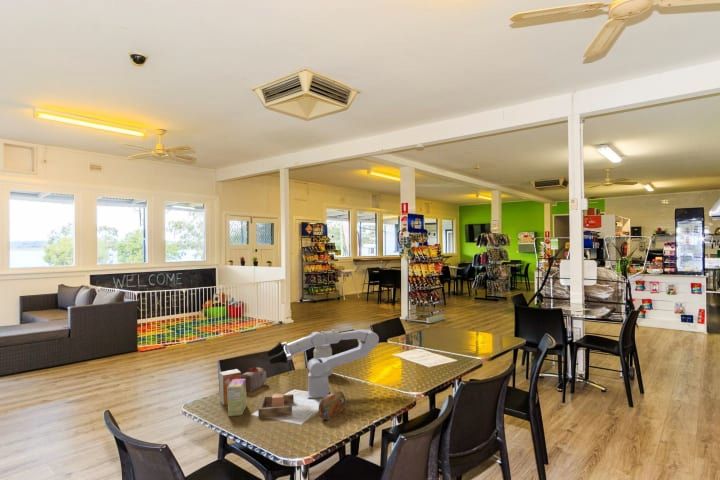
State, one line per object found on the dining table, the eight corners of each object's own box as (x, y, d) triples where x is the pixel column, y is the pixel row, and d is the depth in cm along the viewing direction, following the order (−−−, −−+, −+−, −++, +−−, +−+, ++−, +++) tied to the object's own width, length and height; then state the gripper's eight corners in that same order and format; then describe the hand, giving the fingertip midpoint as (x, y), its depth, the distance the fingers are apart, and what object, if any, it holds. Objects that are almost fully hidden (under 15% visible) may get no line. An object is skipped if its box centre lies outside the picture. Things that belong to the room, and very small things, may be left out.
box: (233, 406, 177) (232, 379, 177) (246, 405, 178) (246, 378, 178) (227, 416, 167) (226, 387, 167) (241, 415, 167) (241, 386, 168)
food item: (253, 382, 208) (253, 363, 208) (267, 384, 206) (267, 364, 206) (238, 392, 195) (237, 371, 195) (252, 393, 193) (252, 372, 193)
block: (284, 407, 175) (283, 393, 175) (283, 411, 170) (283, 397, 170) (273, 408, 174) (273, 393, 174) (272, 412, 170) (271, 397, 170)
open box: (293, 402, 180) (293, 394, 180) (292, 415, 166) (291, 406, 166) (262, 404, 179) (262, 396, 179) (258, 418, 164) (258, 409, 164)
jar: (325, 370, 224) (324, 337, 224) (336, 374, 217) (335, 340, 217) (310, 375, 218) (309, 340, 218) (321, 379, 210) (320, 343, 211)
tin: (324, 423, 158) (323, 401, 158) (317, 421, 159) (316, 399, 159) (346, 409, 170) (345, 389, 171) (339, 408, 172) (339, 387, 172)
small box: (223, 405, 179) (222, 375, 179) (219, 401, 184) (218, 371, 184) (242, 401, 183) (241, 371, 183) (237, 397, 189) (236, 368, 189)
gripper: (292, 332, 192) (264, 343, 188) (298, 345, 179) (268, 356, 175) (297, 345, 194) (269, 356, 190) (303, 359, 180) (273, 371, 177)
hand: (268, 357), depth 183 cm, fingers open, 7 cm apart
